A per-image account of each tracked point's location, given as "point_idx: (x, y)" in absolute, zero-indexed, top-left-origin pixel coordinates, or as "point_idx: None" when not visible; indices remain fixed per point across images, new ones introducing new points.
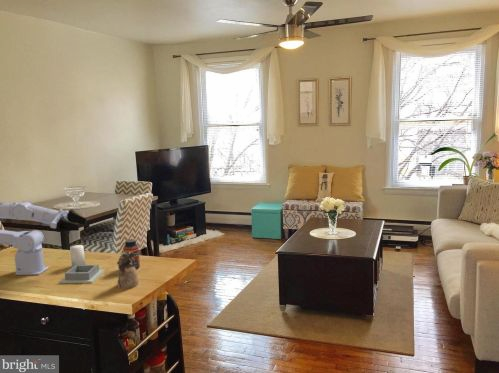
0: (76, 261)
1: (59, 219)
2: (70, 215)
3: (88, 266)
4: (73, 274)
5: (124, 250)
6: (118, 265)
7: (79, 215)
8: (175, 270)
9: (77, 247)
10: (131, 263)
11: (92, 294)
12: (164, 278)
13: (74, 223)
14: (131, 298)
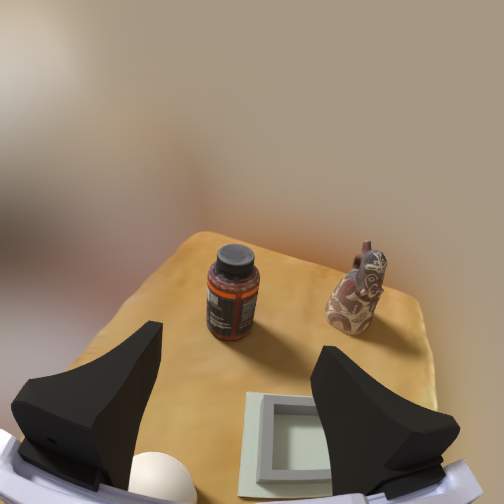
0: (196, 493)
1: (459, 429)
2: (114, 444)
3: (272, 428)
4: None
5: (253, 290)
6: (377, 290)
7: (122, 351)
8: (256, 252)
9: (168, 478)
10: (354, 270)
11: (409, 368)
12: (302, 265)
13: (348, 363)
14: (400, 300)
